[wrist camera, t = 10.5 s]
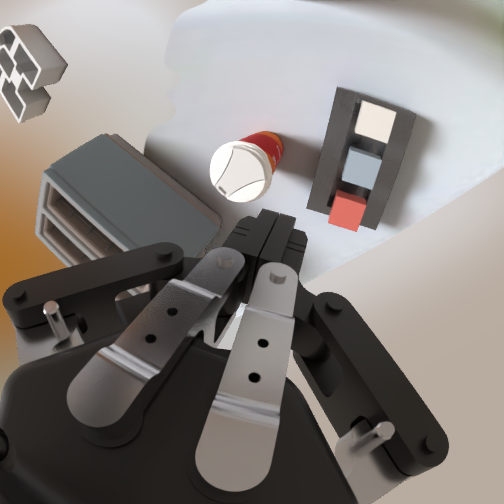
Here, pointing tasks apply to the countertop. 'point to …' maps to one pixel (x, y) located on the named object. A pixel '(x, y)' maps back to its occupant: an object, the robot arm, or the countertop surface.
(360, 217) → the red key
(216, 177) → the coffee cup
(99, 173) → the toaster
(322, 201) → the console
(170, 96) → the countertop surface
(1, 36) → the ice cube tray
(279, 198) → the countertop surface
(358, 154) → the slate-blue key
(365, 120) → the white key
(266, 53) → the countertop surface
